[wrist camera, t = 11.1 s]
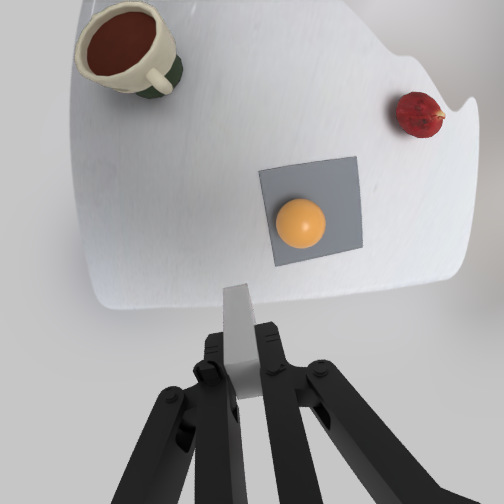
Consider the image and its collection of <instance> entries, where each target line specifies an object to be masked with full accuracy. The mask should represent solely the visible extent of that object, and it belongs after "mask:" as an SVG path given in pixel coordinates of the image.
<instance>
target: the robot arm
mask: <svg viewBox="0 0 504 504" xmlns="http://www.w3.org/2000/svg"><path fill="white" fill-rule="evenodd" d="M223 324H224V325H223V332H219V333H213V334H209V335H208V337H207V339H206V340H205V350H204V360H202V361H200V362H199V363H197V364H196V365H195V367H194V369H193V373H194V375H195V377H196V378H197V380H198V383H197V384H196V385H194V386H192V387H189V388H187V389H184V390H182V389H181V388H180V387H176V386H170V387H168V388H165V389H164V390H162V391H161V393H160V394H159V396H158V398H157V400H156V402H155V404H154V406H153V409H152V411H151V413H150V415H149V417H148V420H147V422H146V424H145V426H144V428H143V431H142V433H141V435H140V437H139V439H138V442H137V444H136V446H135V448H134V451H133V453H132V455H131V457H130V460H129V462H128V464H127V467H126V469H125V471H124V474H123V476H122V478H121V481H120V483H119V485H118V488H117V490H116V492H115V495H114V497H113V499H112V502H111V504H177V503H178V500H179V497H180V494H181V491H182V488H183V485H184V482H185V478H186V475H187V472H188V469H189V466H190V462H191V459H192V456H193V453H194V450H195V504H248V501H247V493H246V482H245V472H244V462H243V451H242V440H241V428H240V417H239V408H238V405H237V402H236V396H237V399H238V400H239V399H245V398H251V397H257V396H263V400H264V406H265V413H266V419H267V426H268V432H269V439H270V445H271V451H272V458H273V464H274V471H275V477H276V483H277V489H278V495H279V501H280V504H323V501H322V497H321V493H320V489H319V485H318V480H317V476H316V473H315V468H314V465H313V461H312V457H311V453H310V449H309V445H308V441H307V437H306V433H305V429H304V425H303V422H302V417H301V414H300V410H299V407H310V409H311V410H312V412H313V413H314V415H315V416H316V418H317V419H318V421H319V422H320V424H321V425H322V427H323V428H324V430H325V431H326V433H327V434H328V436H329V437H330V439H331V440H332V442H333V443H334V445H335V446H336V447H337V449H338V450H339V452H340V453H341V455H342V456H343V457H344V459H345V460H346V462H347V463H348V465H349V466H350V468H351V469H352V470H353V472H354V473H355V475H356V476H357V477H358V479H359V480H360V482H361V483H362V484H363V486H364V487H365V488H366V490H367V491H368V493H369V494H370V495H371V497H372V498H373V500H374V501H375V502H376V504H480V503H479V502H476V501H473V500H471V499H468V498H465V497H463V496H460V495H458V494H455V493H452V492H450V491H448V490H445V489H443V488H441V487H440V486H439V485H438V484H437V483H436V482H435V480H434V479H433V478H432V477H431V476H430V475H429V474H428V473H427V471H426V470H425V469H424V468H423V467H422V466H421V465H420V463H419V462H417V460H416V459H415V458H414V457H413V456H412V454H411V453H410V452H409V451H408V450H407V449H406V448H405V446H404V445H402V443H401V442H400V441H399V439H398V438H397V437H396V436H395V435H394V434H393V433H392V432H391V430H390V429H389V428H388V427H387V426H386V425H385V423H384V422H383V421H382V420H381V419H380V418H379V416H378V415H377V414H376V413H375V412H374V411H373V409H372V408H371V407H370V406H369V405H368V404H367V402H366V401H365V400H364V399H363V398H362V397H361V396H360V394H359V393H358V392H357V391H356V390H355V388H354V387H353V386H352V385H351V384H350V383H349V382H348V380H347V379H346V378H345V377H344V376H343V375H342V373H341V372H340V371H339V370H338V369H337V367H336V366H335V365H334V364H333V363H332V362H330V361H327V360H317V361H314V362H312V363H311V364H309V365H308V367H296V366H293V365H291V364H289V363H288V362H287V360H286V358H285V354H284V350H283V347H282V343H281V339H280V335H279V331H278V328H277V326H276V325H275V324H274V323H273V322H268V323H263V324H258V325H256V321H255V316H254V312H253V307H252V303H251V299H250V295H249V290H248V286H247V284H242V285H237V286H232V287H227V288H223Z"/></svg>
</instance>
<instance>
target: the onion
mask: <svg viewBox="0 0 504 504" xmlns="http://www.w3.org/2000/svg"><path fill="white" fill-rule="evenodd" d="M396 117H397V120H398V122H399V125H400V126H401V127H402V128H403V129H404V130H405V131H406V132H407V133H408V134H410V135H412V136H415V137H417V138H429V137H432V136H433V135H435V134H436V133H437V132H438V131H439V130H440V128H441V126H442V123H443V119H445V113H443V112H442V110H441V109H440V106H439V105H438V104H437V103H436V101H435V100H434V99H433V98H432V97H430V96H428V95H427V94H425V93H422V92H411V93H409V94H406V95H404V96H403V97H402V98H401V99H400V100H399V102H398V105H397V108H396Z"/></svg>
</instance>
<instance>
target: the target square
mask: <svg viewBox="0 0 504 504" xmlns="http://www.w3.org/2000/svg"><path fill="white" fill-rule="evenodd" d="M259 175H260V180H261V186H262V191H263V197H264V202H265V208H266V214H267V219H268V225H269V231H270V236H271V242H272V248H273V254H274V260H275V266H281V265H286V264H290V263H295V262H300V261H304V260H309V259H313V258H318V257H323V256H327V255H332V254H336V253H340V252H345V251H349V250H354V249H358V248H362V247H363V239H362V215H361V199H360V186H359V175H358V166H357V157H349V158H341V159H333V160H325V161H318V162H311V163H305V164H298V165H292V166H286V167H280V168H274V169H268V170H263V171H259ZM294 199H307V200H310V201H312V202H314V203H315V204H317V205H318V206H319V207H320V209H321V210H322V212H323V214H324V216H325V221H326V227H325V231H324V234H323V236H322V238H321V239H320V240H319V241H318V242H317V243H316V244H315V245H313V246H311V247H308V248H301V249H299V248H294V247H291V246H289V245H288V244H286V243H285V242H284V241H283V240H282V239H281V238H280V236H279V234H278V232H277V228H276V219H277V215H278V213H279V211H280V209H281V208H282V207H283V206H284V205H285V204H286V203H287V202H289V201H291V200H294Z"/></svg>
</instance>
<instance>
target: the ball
mask: <svg viewBox="0 0 504 504" xmlns="http://www.w3.org/2000/svg"><path fill="white" fill-rule="evenodd" d="M325 227H326V221H325V216H324V214H323V212H322V210H321V209H320V207H319V206H318V205H317V204H315V203H314V202H312V201H310V200H307V199H294V200H291V201H289V202H287V203H286V204H285V205H284V206H283V207H282V208H281V209H280V211H279V213H278V215H277V219H276V228H277V232H278V234H279V236H280V238H281V239H282V240H283V241H284V242H285V243H286V244H288V245H289V246H291V247H294V248H299V249H301V248H308V247H311V246H313V245H315V244H316V243H317V242H318V241H319V240H320V239H321V238H322V236H323V234H324V231H325Z"/></svg>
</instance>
